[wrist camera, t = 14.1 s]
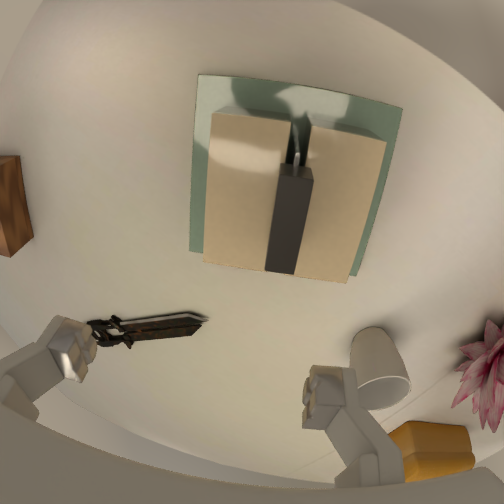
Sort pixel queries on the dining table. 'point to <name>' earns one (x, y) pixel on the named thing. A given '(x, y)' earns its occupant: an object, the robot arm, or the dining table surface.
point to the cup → (378, 370)
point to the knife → (144, 324)
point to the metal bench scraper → (289, 214)
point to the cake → (279, 151)
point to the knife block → (13, 208)
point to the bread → (433, 449)
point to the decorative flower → (484, 376)
